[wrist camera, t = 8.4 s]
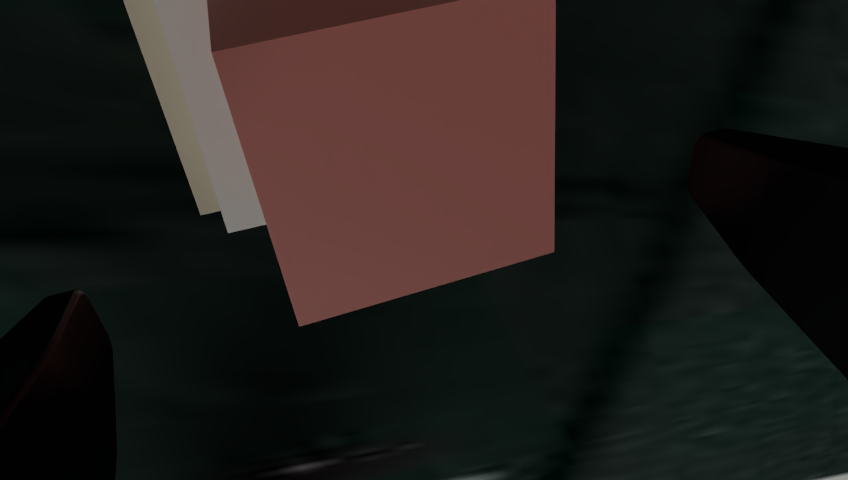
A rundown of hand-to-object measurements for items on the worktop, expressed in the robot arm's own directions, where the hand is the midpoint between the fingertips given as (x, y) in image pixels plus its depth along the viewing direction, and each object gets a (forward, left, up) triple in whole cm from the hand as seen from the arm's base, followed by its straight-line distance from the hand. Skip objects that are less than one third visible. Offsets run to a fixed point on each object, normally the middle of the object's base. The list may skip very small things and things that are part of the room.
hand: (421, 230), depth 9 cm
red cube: (0, 0, -6) cm, 7 cm away
